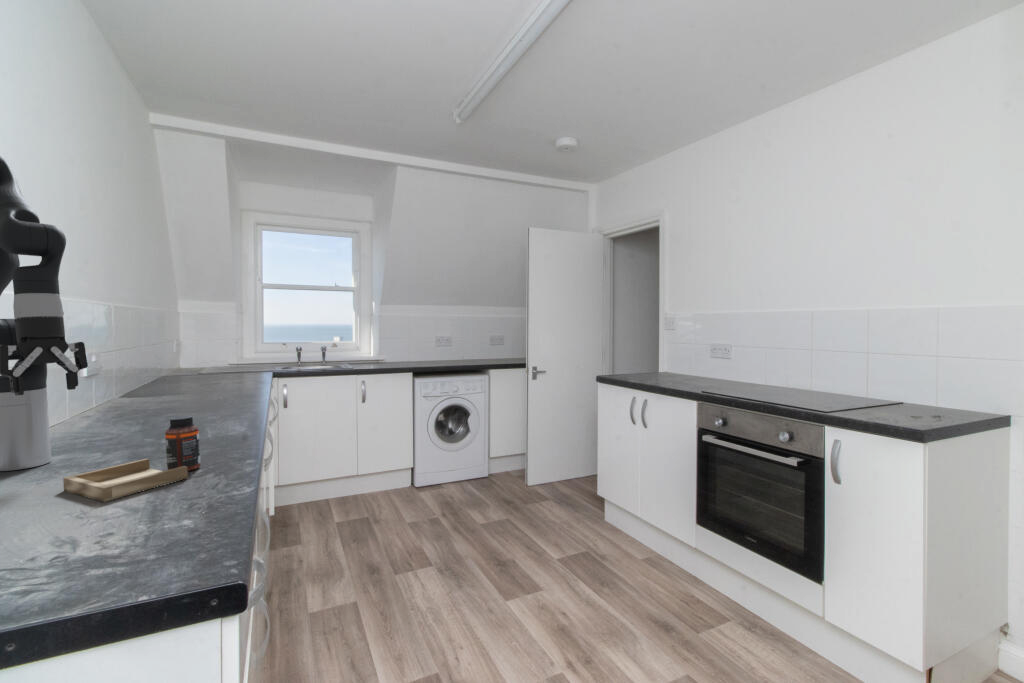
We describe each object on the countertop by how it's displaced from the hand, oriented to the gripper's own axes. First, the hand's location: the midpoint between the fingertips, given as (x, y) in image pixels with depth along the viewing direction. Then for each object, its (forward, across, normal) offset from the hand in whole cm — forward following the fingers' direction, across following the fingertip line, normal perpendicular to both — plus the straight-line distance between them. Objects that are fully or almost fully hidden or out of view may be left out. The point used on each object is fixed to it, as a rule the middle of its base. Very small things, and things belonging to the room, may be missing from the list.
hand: (46, 392), depth 104 cm
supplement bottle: (+19, -13, +24) cm, 34 cm away
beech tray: (+19, -2, +24) cm, 31 cm away
